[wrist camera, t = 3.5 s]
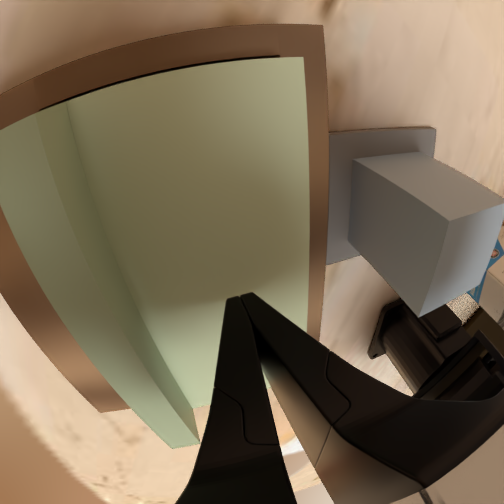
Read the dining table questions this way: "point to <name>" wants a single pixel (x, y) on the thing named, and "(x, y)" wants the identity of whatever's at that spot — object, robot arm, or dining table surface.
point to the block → (423, 226)
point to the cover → (165, 221)
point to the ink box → (493, 284)
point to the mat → (340, 174)
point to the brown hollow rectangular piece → (138, 66)
